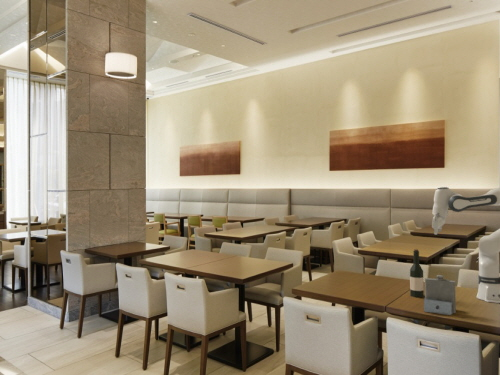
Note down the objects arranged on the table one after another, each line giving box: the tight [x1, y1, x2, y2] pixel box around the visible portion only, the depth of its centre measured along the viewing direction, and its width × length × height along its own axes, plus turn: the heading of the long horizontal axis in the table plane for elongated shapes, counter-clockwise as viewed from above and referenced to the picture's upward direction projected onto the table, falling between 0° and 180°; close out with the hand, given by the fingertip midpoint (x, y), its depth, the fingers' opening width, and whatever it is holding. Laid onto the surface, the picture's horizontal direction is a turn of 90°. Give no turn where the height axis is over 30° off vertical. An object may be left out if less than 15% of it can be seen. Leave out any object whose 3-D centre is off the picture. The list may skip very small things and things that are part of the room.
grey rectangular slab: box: [424, 274, 457, 314], centre depth 230 cm, size 16×4×20 cm, turn 56°
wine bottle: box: [409, 248, 425, 298], centre depth 261 cm, size 8×8×30 cm
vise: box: [423, 297, 453, 316], centre depth 229 cm, size 14×14×7 cm
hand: (437, 233), depth 260 cm, fingers open, 8 cm apart
